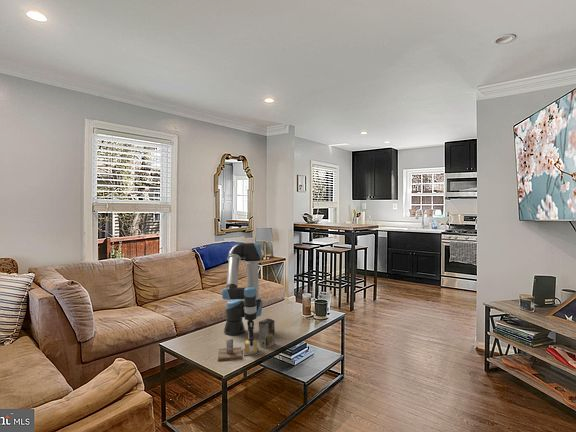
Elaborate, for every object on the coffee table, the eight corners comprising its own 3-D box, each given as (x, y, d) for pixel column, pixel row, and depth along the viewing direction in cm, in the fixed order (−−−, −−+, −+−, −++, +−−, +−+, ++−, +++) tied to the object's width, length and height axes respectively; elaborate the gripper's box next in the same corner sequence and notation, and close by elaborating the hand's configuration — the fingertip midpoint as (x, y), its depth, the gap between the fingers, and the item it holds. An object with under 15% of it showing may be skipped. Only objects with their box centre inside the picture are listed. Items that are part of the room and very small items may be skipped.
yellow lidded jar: (256, 348, 217) (256, 337, 217) (257, 353, 209) (257, 342, 209) (244, 349, 216) (244, 338, 215) (245, 354, 208) (244, 343, 208)
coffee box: (268, 341, 229) (267, 318, 228) (275, 344, 225) (274, 320, 224) (258, 346, 222) (258, 321, 221) (265, 348, 217) (265, 323, 217)
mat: (243, 349, 217) (243, 348, 217) (257, 348, 218) (257, 347, 218) (244, 356, 207) (244, 355, 207) (258, 354, 208) (258, 353, 208)
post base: (218, 351, 214) (218, 336, 214) (241, 349, 216) (240, 334, 216) (217, 361, 200) (217, 345, 200) (241, 359, 203) (241, 343, 202)
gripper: (243, 307, 224) (244, 338, 224) (245, 319, 199) (245, 354, 199) (255, 306, 225) (255, 338, 225) (257, 318, 200) (258, 353, 201)
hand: (250, 346), depth 212 cm, fingers open, 13 cm apart
